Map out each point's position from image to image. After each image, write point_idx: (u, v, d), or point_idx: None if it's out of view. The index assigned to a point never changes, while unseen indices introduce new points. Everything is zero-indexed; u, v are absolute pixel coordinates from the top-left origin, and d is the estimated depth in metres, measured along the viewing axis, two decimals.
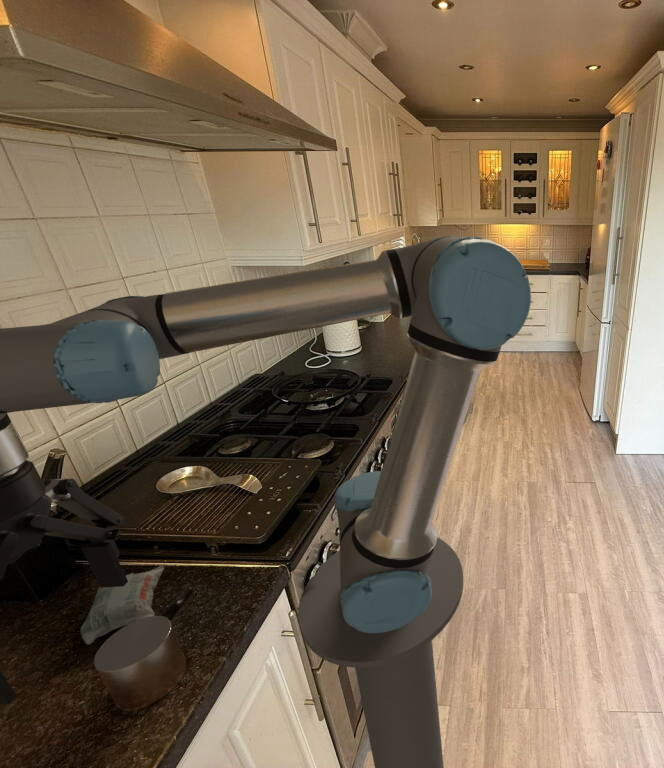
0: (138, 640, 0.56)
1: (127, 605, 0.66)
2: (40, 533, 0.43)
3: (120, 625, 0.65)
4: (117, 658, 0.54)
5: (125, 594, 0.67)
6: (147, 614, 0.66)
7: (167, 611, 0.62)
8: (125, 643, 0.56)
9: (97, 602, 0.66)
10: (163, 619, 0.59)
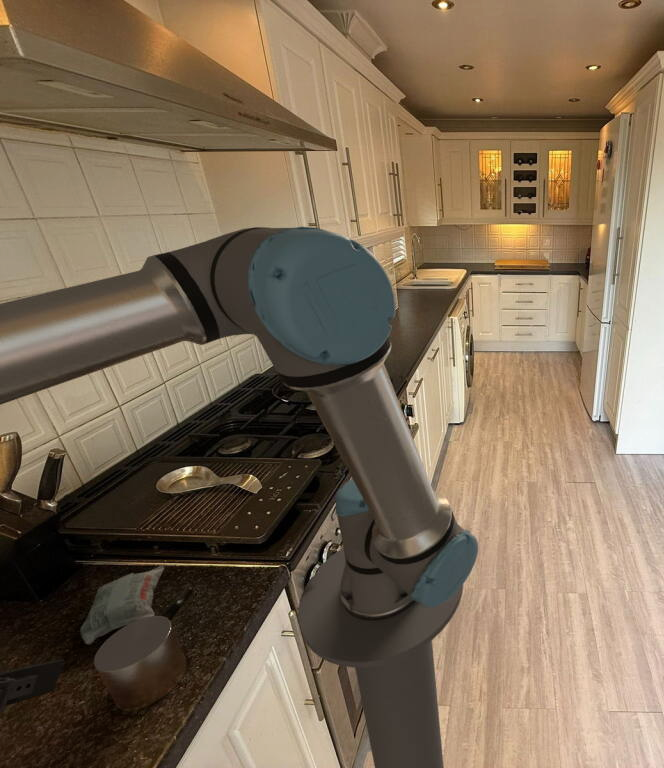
0: (138, 640, 0.56)
1: (127, 605, 0.66)
2: None
3: (120, 625, 0.65)
4: (117, 658, 0.54)
5: (125, 594, 0.67)
6: (147, 614, 0.66)
7: (167, 611, 0.62)
8: (125, 643, 0.56)
9: (97, 602, 0.66)
10: (163, 619, 0.59)
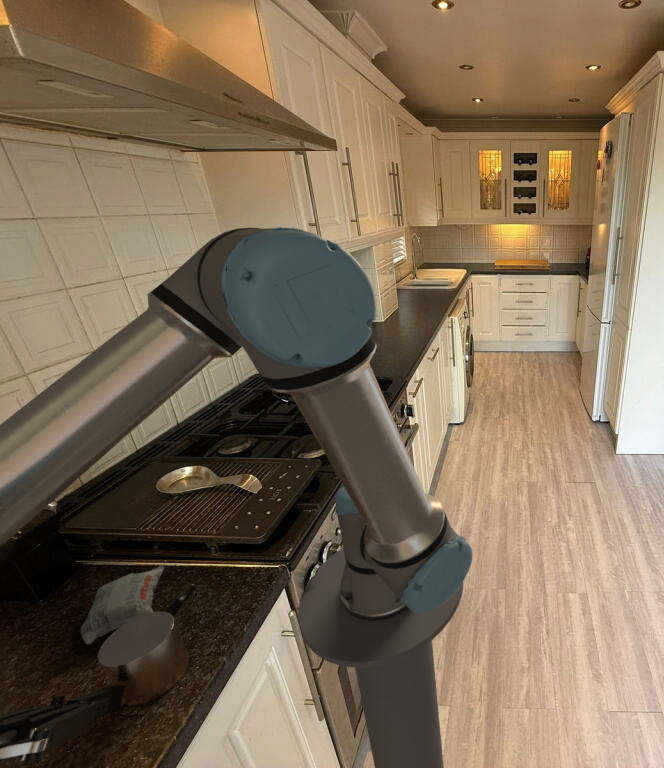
0: (141, 635, 0.57)
1: (127, 605, 0.66)
2: None
3: (120, 625, 0.65)
4: (121, 653, 0.54)
5: (125, 594, 0.67)
6: None
7: (170, 607, 0.62)
8: (129, 638, 0.56)
9: (97, 602, 0.66)
10: (166, 615, 0.60)
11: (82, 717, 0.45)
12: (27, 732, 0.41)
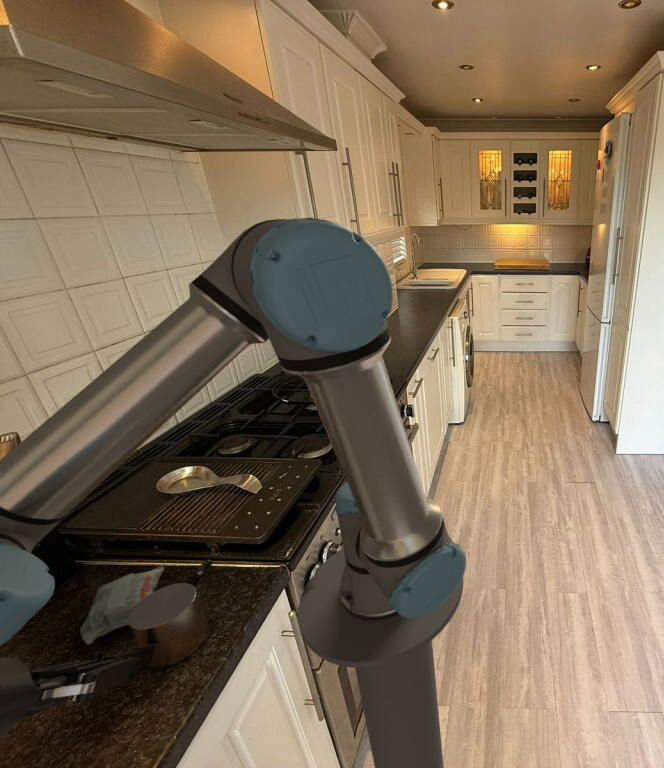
0: (166, 603, 0.62)
1: (127, 605, 0.66)
2: None
3: (120, 625, 0.65)
4: (149, 618, 0.59)
5: (125, 594, 0.67)
6: None
7: (190, 580, 0.67)
8: (155, 606, 0.61)
9: (97, 602, 0.66)
10: (188, 586, 0.64)
11: (121, 669, 0.49)
12: (74, 679, 0.46)
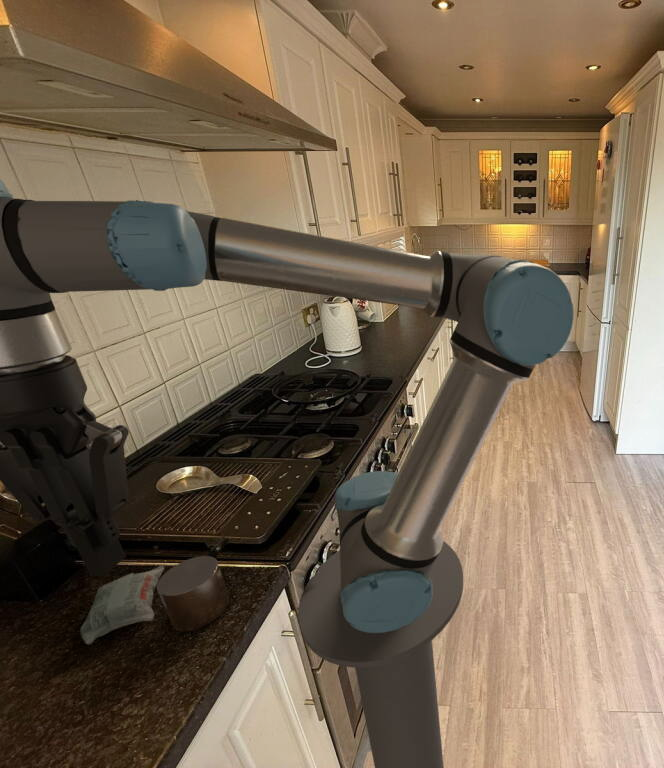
0: (191, 573, 0.67)
1: (127, 605, 0.66)
2: None
3: (120, 625, 0.65)
4: (177, 586, 0.64)
5: (125, 594, 0.67)
6: (147, 614, 0.66)
7: (210, 554, 0.72)
8: (181, 576, 0.66)
9: (97, 602, 0.66)
10: (210, 558, 0.70)
11: (121, 486, 0.42)
12: (83, 460, 0.40)
